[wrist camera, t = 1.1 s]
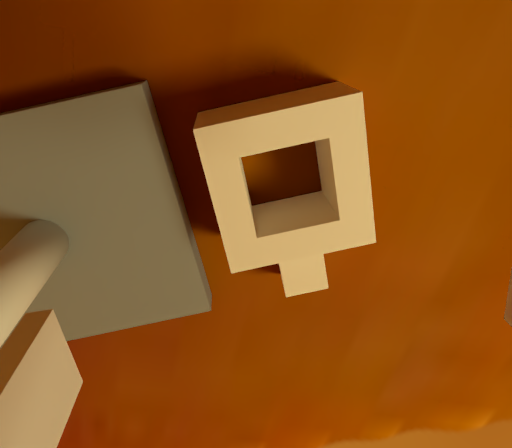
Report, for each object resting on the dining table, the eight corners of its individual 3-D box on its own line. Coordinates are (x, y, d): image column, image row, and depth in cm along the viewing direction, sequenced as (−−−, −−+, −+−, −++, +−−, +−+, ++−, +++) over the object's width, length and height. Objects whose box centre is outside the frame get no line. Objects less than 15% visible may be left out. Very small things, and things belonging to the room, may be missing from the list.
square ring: (197, 112, 26) (192, 129, 22) (338, 81, 26) (362, 92, 22) (242, 282, 32) (245, 324, 27) (358, 257, 32) (380, 295, 27)
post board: (146, 80, 25) (89, 118, 15) (211, 294, 32) (205, 429, 21) (-138, 144, 26) (-399, 227, 15) (-15, 342, 33) (-134, 499, 22)
